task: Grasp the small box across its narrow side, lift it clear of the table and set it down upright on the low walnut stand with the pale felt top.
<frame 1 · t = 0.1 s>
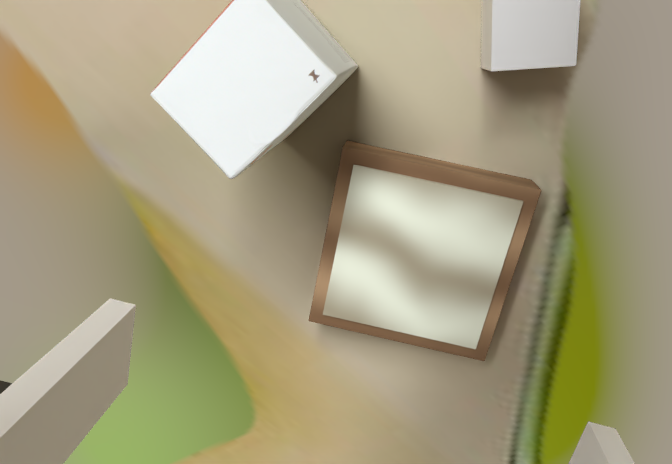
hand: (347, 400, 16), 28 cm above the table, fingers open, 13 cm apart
small box: (291, 72, 40), on the table
grey cube: (518, 27, 37), on the table
stand: (416, 245, 43), on the table
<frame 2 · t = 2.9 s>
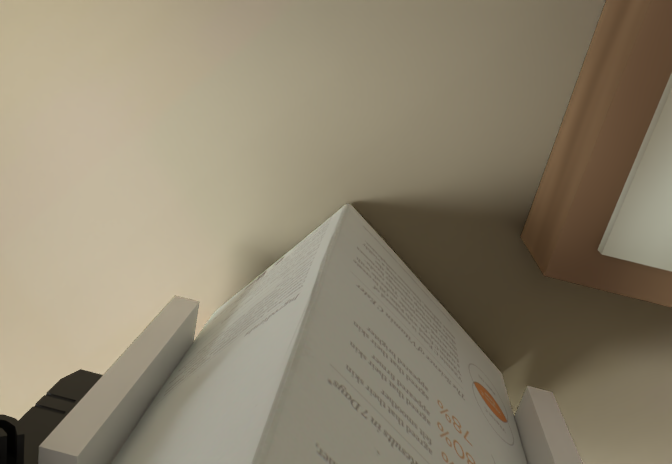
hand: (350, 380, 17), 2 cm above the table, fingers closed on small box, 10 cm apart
small box: (357, 339, 19), on the table, touching gripper
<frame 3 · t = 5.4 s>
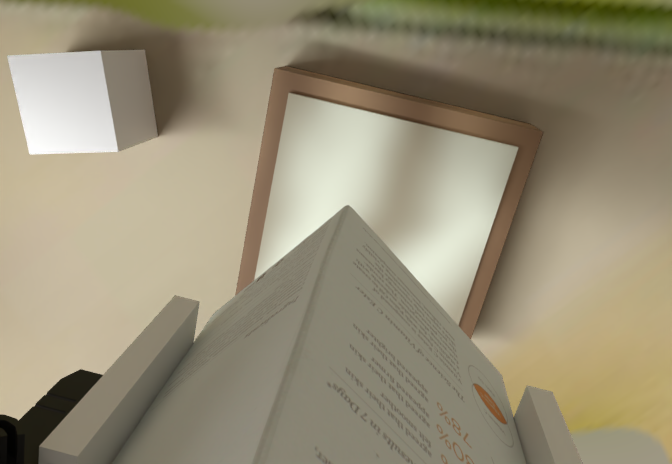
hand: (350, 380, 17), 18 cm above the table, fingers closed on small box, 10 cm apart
small box: (357, 340, 19), point 15 cm above the table, touching gripper
grey cube: (112, 95, 33), on the table
stand: (377, 210, 33), on the table
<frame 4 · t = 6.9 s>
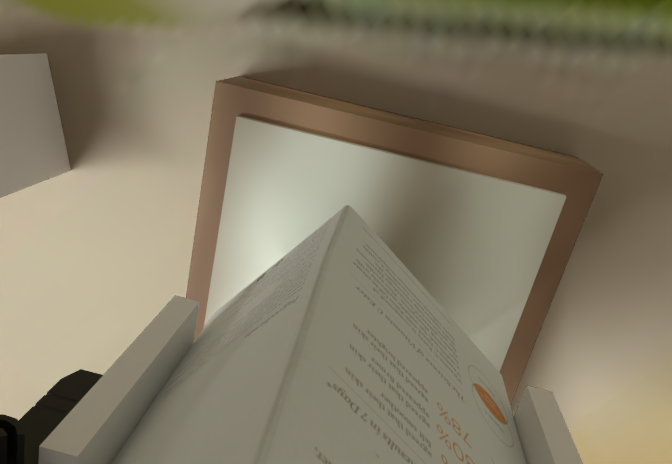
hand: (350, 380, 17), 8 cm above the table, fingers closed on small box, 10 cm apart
small box: (357, 340, 19), point 6 cm above the table, touching gripper
grey cube: (7, 115, 24), on the table
stand: (365, 270, 25), on the table
when the fingers open (7 cm above the table, at t = 7.9 s): small box drops 1 cm, resting on stand.
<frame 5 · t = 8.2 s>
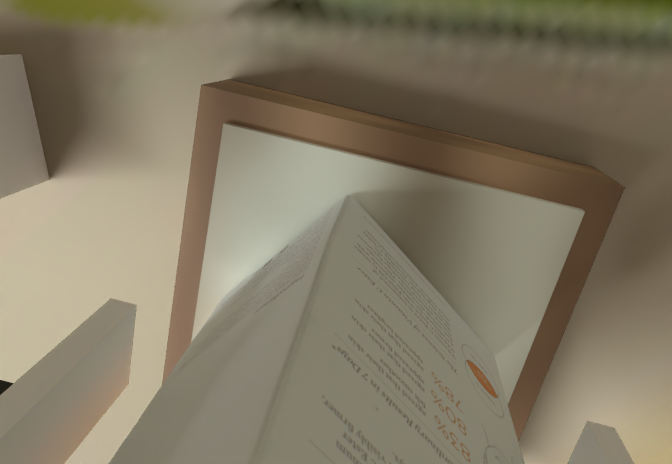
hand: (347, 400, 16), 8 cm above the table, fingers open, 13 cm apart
small box: (357, 323, 20), point 3 cm above the table, touching stand
stand: (365, 287, 23), on the table
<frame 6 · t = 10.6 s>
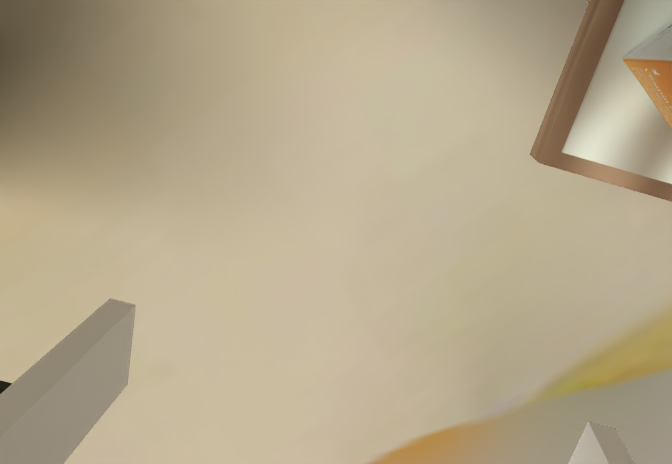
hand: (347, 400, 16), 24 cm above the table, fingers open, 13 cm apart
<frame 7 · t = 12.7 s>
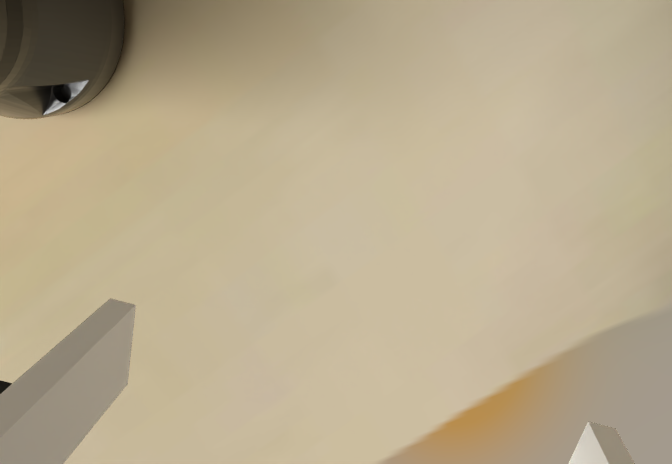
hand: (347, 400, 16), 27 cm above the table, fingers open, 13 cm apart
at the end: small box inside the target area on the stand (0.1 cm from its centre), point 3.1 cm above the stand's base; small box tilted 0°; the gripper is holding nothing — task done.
